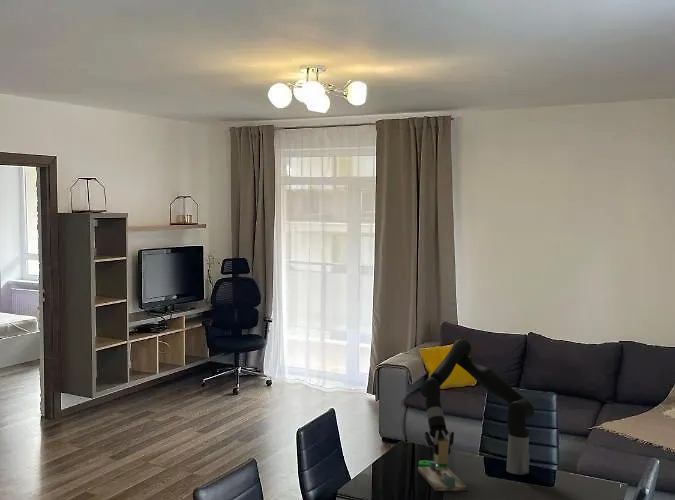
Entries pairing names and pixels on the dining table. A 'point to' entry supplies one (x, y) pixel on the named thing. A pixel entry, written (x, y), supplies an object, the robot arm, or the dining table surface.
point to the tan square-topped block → (442, 451)
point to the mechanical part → (426, 463)
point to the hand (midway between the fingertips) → (442, 454)
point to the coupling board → (441, 478)
